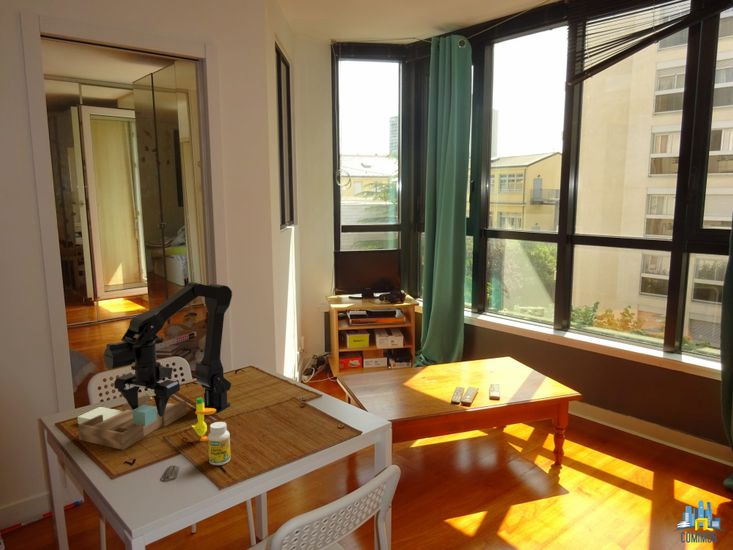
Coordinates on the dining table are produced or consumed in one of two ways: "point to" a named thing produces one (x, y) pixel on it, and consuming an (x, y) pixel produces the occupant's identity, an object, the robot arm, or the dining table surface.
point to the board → (96, 412)
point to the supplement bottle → (219, 444)
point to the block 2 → (170, 473)
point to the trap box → (127, 425)
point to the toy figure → (202, 418)
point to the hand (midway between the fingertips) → (148, 413)
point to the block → (144, 415)
